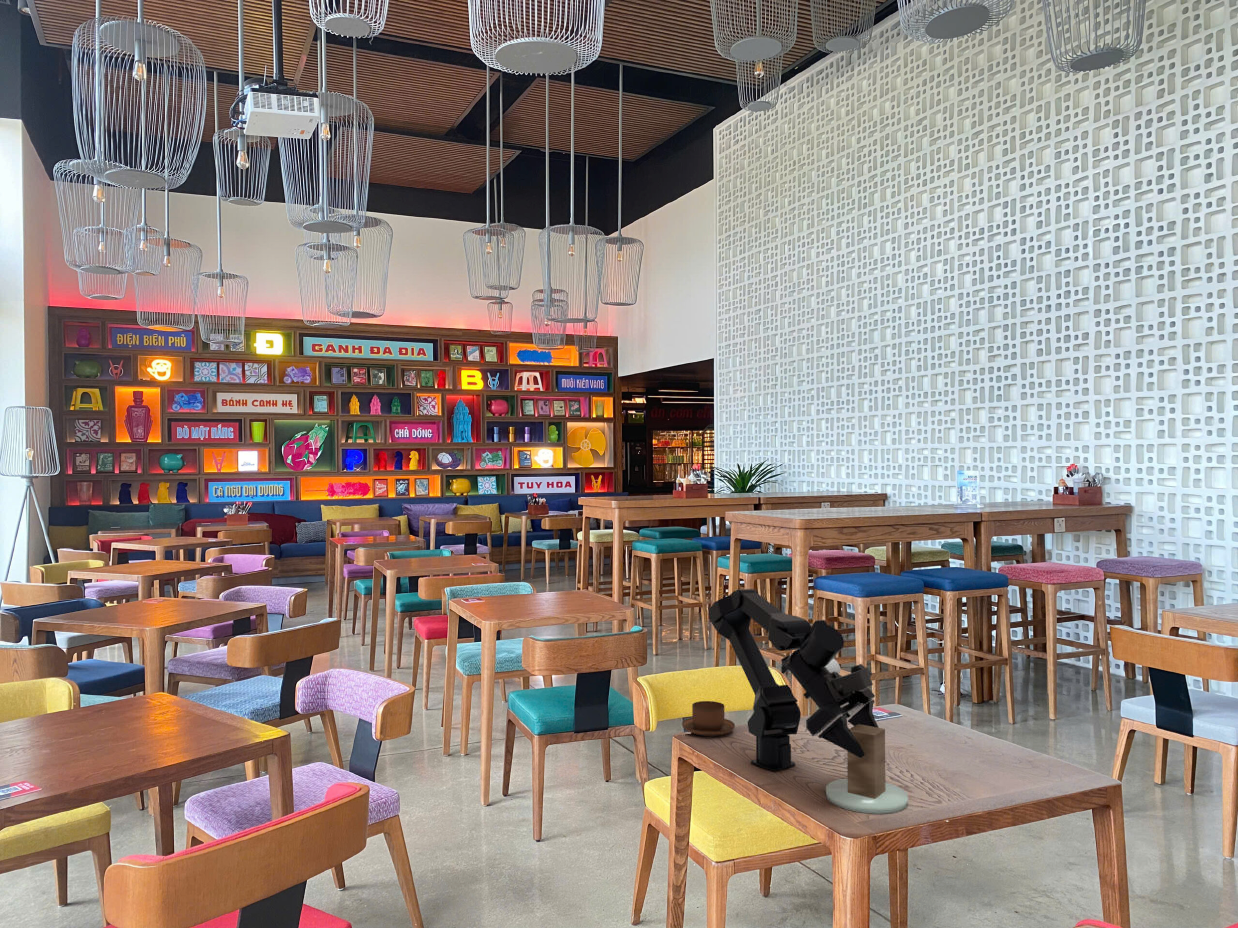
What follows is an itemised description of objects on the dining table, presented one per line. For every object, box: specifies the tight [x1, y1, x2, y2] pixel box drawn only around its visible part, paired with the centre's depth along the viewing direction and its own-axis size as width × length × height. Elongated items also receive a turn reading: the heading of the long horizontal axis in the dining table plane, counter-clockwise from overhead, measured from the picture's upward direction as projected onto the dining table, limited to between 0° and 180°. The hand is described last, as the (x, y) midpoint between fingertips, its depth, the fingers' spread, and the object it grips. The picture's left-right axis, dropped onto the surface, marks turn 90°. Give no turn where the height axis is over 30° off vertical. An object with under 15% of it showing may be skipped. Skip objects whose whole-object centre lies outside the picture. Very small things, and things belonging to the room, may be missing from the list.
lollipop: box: [825, 658, 841, 675], centre depth 199 cm, size 6×6×15 cm
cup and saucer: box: [681, 700, 736, 737], centre depth 189 cm, size 12×12×6 cm
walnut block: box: [846, 724, 886, 799], centre depth 148 cm, size 5×5×11 cm
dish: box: [825, 777, 909, 815], centre depth 148 cm, size 14×14×1 cm
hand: (873, 749), depth 147 cm, fingers open, 9 cm apart
